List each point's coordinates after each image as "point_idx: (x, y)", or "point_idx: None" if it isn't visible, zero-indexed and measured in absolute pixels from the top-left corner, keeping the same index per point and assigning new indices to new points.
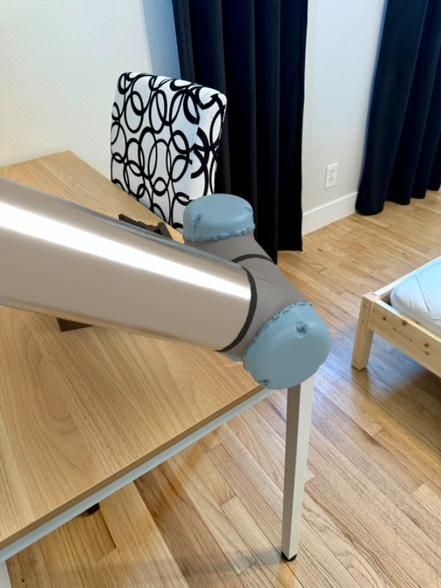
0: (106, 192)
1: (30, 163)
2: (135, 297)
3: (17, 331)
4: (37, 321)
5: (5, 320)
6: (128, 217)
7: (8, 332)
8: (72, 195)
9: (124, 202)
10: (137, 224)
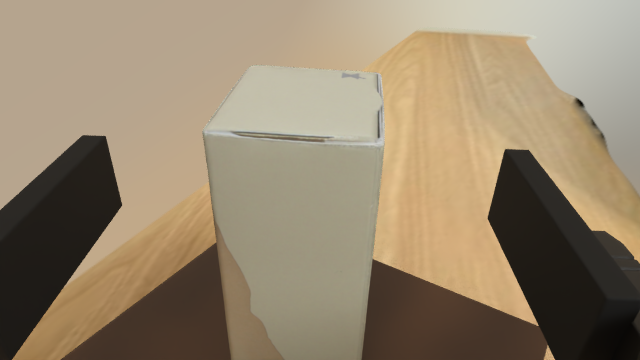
0: (549, 114)
1: (453, 36)
2: None
3: None
4: None
5: None
6: (552, 184)
7: None
8: (476, 95)
9: (579, 148)
10: (586, 258)
